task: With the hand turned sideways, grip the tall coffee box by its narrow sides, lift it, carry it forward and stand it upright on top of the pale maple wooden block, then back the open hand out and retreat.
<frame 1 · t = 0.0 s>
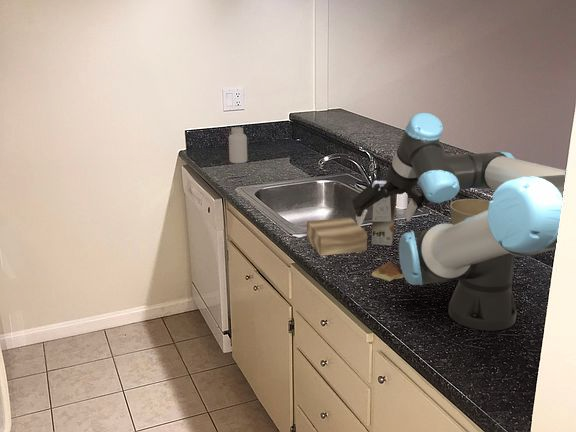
hand: (382, 219, 172), 15 cm above the worktop, tool tilted 35°, fingers open, 13 cm apart
shard: (384, 275, 178), on the worktop
pill bottle: (238, 162, 293), on the worktop
plant pot: (473, 261, 185), on the worktop
maple block: (335, 245, 197), on the worktop
coffee box: (382, 240, 201), on the worktop
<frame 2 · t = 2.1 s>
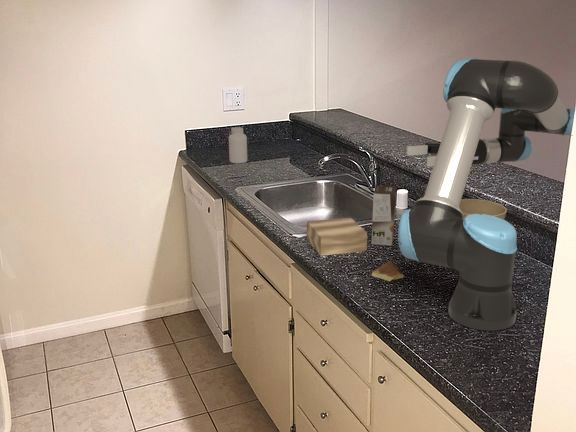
hand: (417, 156, 195), 25 cm above the worktop, tool horizontal, fingers open, 13 cm apart
nothing on the worktop moved.
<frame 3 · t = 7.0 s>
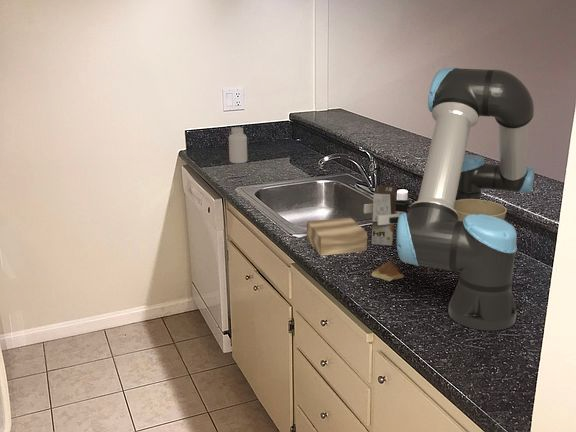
hand: (370, 214, 197), 9 cm above the worktop, tool horizontal, fingers closed on coffee box, 10 cm apart
coffee box: (382, 240, 201), on the worktop, touching gripper
everything else where it was.
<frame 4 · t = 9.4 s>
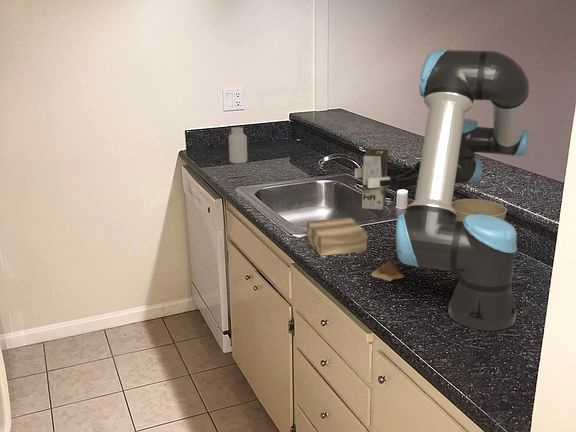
hand: (361, 178, 193), 20 cm above the worktop, tool horizontal, fingers closed on coffee box, 10 cm apart
coffee box: (373, 205, 197), point 11 cm above the worktop, touching gripper
everything else where it was.
when the fingers open (16 cm above the worktop, at t = 11.9 s): coffee box drops 2 cm, point 5 cm above the worktop.
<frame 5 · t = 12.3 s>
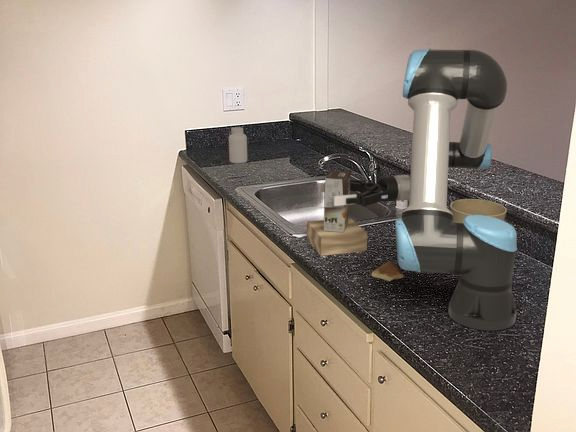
hand: (326, 194, 191), 16 cm above the worktop, tool horizontal, fingers open, 13 cm apart
coffee box: (336, 227, 195), point 5 cm above the worktop
everything else where it was.
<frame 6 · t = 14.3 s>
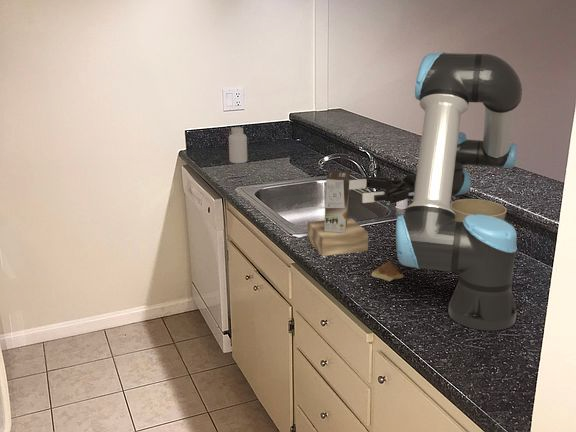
hand: (353, 191, 193), 16 cm above the worktop, tool horizontal, fingers open, 13 cm apart
nothing on the worktop moved.
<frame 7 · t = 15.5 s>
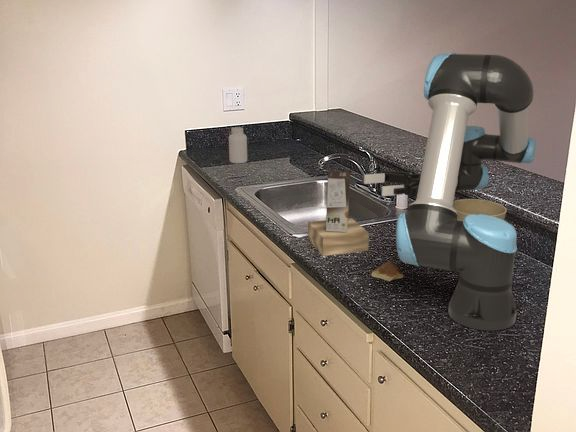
hand: (372, 185, 193), 18 cm above the worktop, tool horizontal, fingers open, 13 cm apart
nothing on the worktop moved.
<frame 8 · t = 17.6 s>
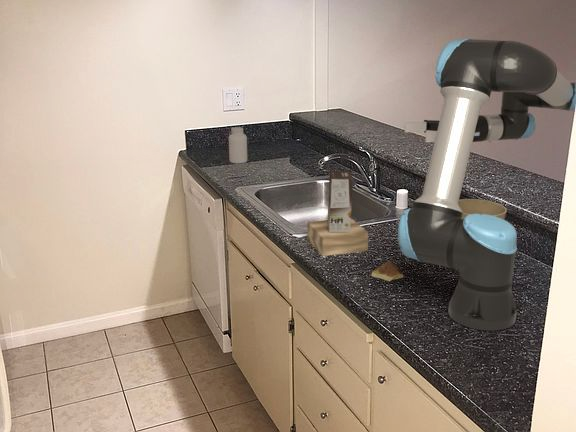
hand: (415, 132, 186), 34 cm above the worktop, tool horizontal, fingers open, 13 cm apart
maple block: (336, 246, 197), on the worktop, touching coffee box
coffee box: (338, 227, 195), point 5 cm above the worktop, touching maple block
everything else where it was.
at the end: coffee box inside the target area on the maple block (0.4 cm from its centre), point 5.9 cm above the maple block's base; coffee box tilted 2°; the gripper is holding nothing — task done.
